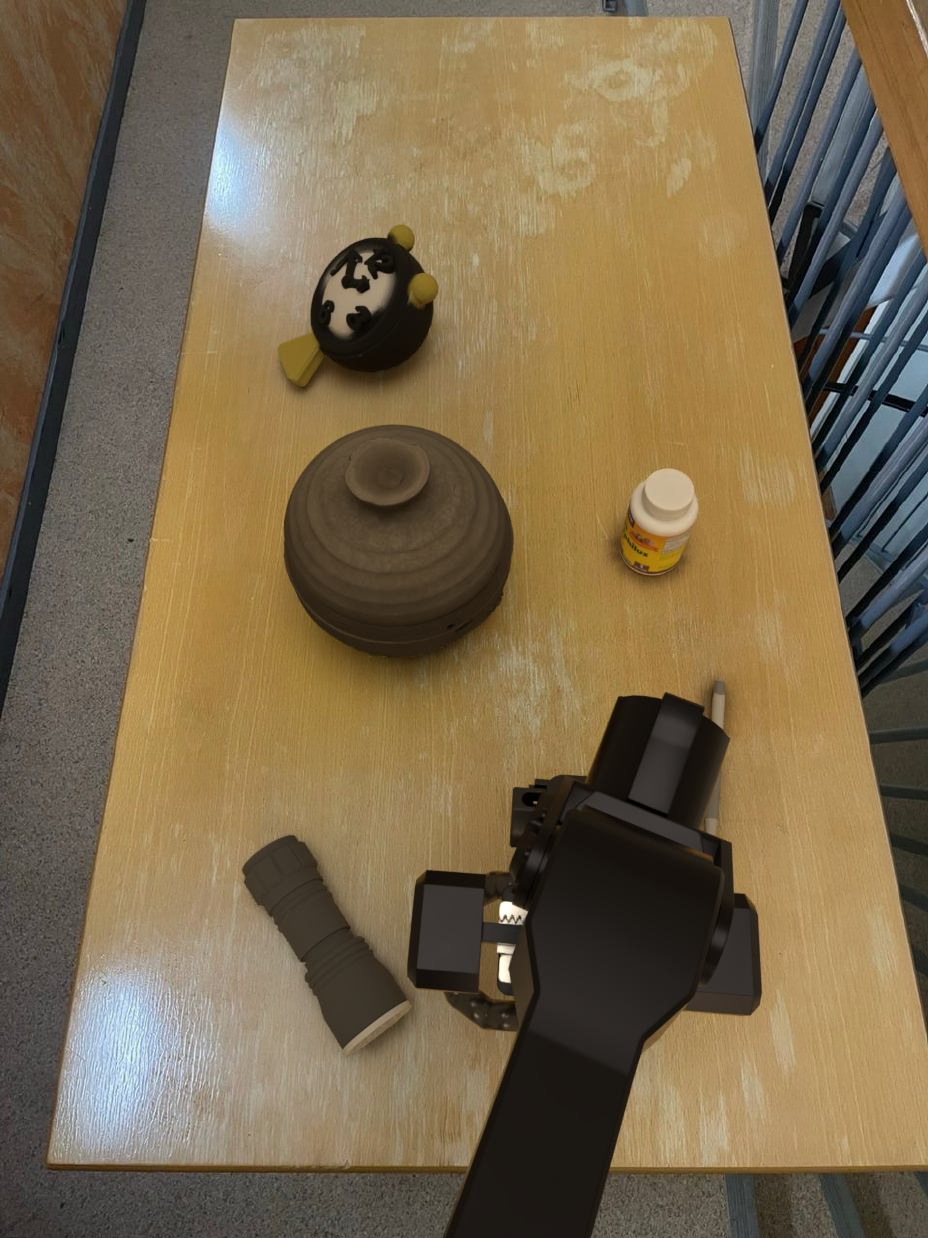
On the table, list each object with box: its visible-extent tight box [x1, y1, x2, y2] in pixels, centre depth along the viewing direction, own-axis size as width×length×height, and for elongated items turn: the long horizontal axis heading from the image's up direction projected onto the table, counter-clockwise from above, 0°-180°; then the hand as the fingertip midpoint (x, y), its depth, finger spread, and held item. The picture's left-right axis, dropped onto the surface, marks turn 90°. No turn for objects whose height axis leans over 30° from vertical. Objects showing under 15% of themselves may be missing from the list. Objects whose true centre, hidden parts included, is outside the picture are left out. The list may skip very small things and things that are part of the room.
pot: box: [283, 423, 515, 659], centre depth 72 cm, size 18×18×20 cm
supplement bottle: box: [618, 467, 699, 576], centre depth 77 cm, size 6×6×10 cm
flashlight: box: [241, 834, 412, 1057], centre depth 66 cm, size 15×5×5 cm, turn 36°
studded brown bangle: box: [442, 870, 519, 1034], centre depth 58 cm, size 10×10×2 cm
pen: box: [704, 676, 726, 836], centre depth 73 cm, size 1×14×1 cm, turn 170°
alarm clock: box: [277, 223, 440, 388], centre depth 88 cm, size 12×15×15 cm
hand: (569, 953), depth 58 cm, fingers closed on studded brown bangle, 2 cm apart
